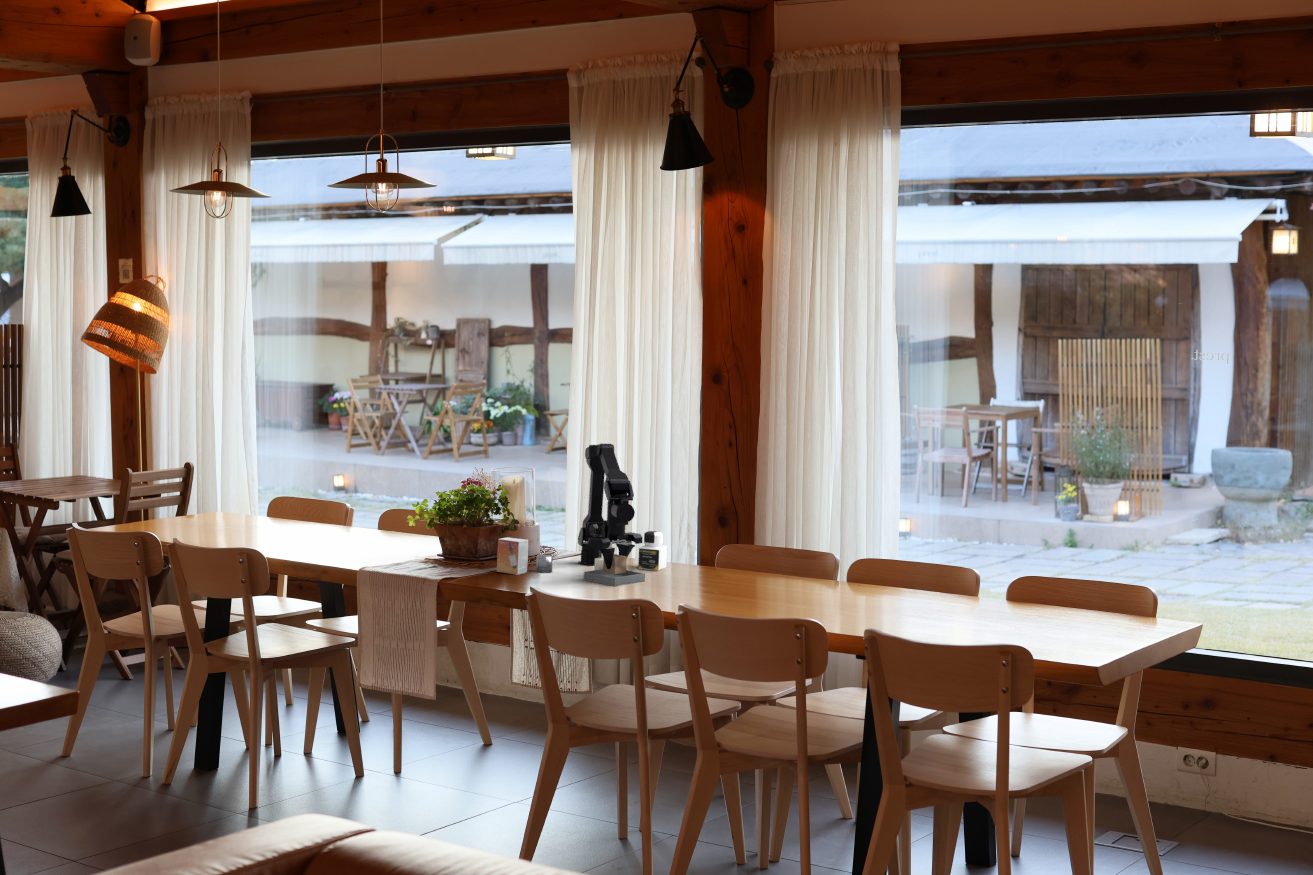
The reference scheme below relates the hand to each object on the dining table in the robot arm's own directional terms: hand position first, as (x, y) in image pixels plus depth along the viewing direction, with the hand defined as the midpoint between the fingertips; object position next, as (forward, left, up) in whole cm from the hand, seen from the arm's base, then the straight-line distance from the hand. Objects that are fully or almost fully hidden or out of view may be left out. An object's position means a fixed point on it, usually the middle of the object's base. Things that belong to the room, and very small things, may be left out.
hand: (614, 568), depth 395 cm
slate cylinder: (+7, -24, -4) cm, 25 cm away
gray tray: (0, 0, -4) cm, 4 cm away
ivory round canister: (-4, -9, -4) cm, 11 cm away
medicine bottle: (-25, -7, -4) cm, 26 cm away
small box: (+16, -29, -4) cm, 33 cm away
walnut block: (0, 0, -1) cm, 1 cm away
